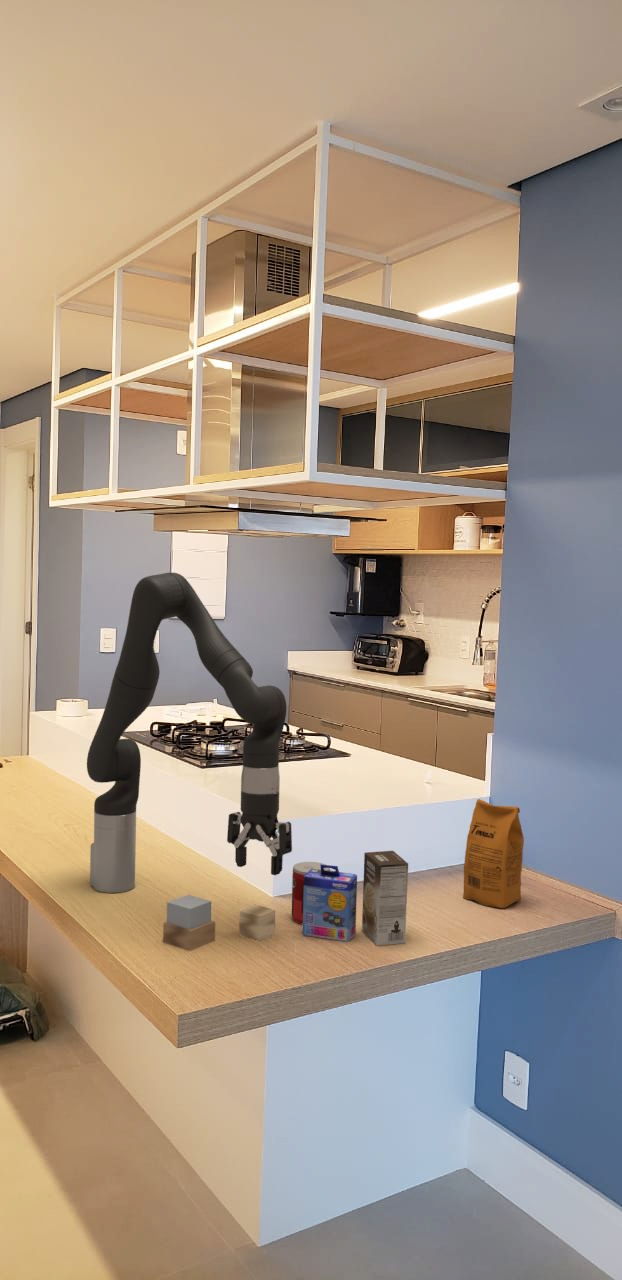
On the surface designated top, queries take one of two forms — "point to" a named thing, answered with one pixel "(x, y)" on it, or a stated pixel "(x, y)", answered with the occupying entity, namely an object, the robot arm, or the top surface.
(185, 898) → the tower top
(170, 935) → the tower base
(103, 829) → the robot arm
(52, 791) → the top surface
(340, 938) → the ink cartridge box
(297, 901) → the canned food
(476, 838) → the coffee package
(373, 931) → the coffee box
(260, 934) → the oak cube
